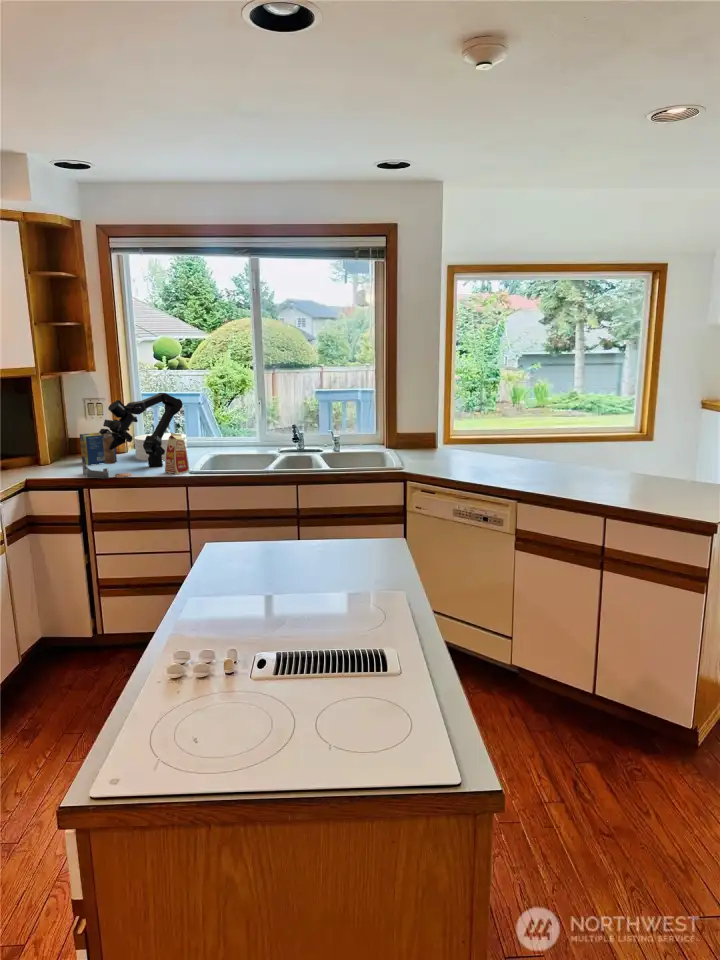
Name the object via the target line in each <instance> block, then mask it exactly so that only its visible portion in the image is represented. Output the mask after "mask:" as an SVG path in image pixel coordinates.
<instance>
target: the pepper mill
mask: <svg viewBox="0 0 720 960" xmlns="http://www.w3.org/2000/svg"><path fill="white" fill-rule="evenodd" d="M112 442H113V437H112V434H111V433H107V434H104V438H103V448H104V459H105V463H104V464H106V465H112V464H116V462H115V451H114V449H112V450H110V449H109V448H110V446H111V444H112Z"/></svg>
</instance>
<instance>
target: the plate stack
mask: <svg viewBox="0 0 720 960" xmlns="http://www.w3.org/2000/svg"><path fill="white" fill-rule="evenodd" d="M171 433H172V432H165V433H164V435H163V437H162V445H161V447H162V448H163V449H164V450H165V453H164V455H162V460H164V461H165V460H166V451H167V445H168V439H169V437H170V436H171ZM174 433H175V434H180V433H177V432H174ZM152 434H153V433H149V434H148V433H147V434H141V435H137V436H134V438H133V440H134V445H135V446H134V449H135V459H136V458H137V459H136V460H139V459H141V460H140V461H145V460H148V457H149V454H146V451H145V450H144V447H143V444H144V441H145V439H146V437H147V436H151V435H152ZM181 434H182V435H181V437H182V438H183V439H184V442H185V446H186V451H187V452H188V444H187V441H188V440H187V434H184V433H181Z"/></svg>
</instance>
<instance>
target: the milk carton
mask: <svg viewBox="0 0 720 960" xmlns="http://www.w3.org/2000/svg"><path fill="white" fill-rule="evenodd" d="M170 433H171V436H170V437H169V439H168V445H167V451H166V460H164V462H165V463H164V464H165V465H164V473H166V472H168V473H167V474H171V473H175V474H174V475H181V474H185V473H188V471H189V472H190V464H189V457H188V455H187V454H188V450H187V451H186V448H187V447H186V446H185V442H184V439H183V438H182V437H181V435H182V434H183V433H179V434H175V433H176V432H170ZM180 473H181V474H180Z"/></svg>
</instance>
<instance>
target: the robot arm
mask: <svg viewBox="0 0 720 960" xmlns="http://www.w3.org/2000/svg"><path fill="white" fill-rule="evenodd" d="M159 403H162V404H163V405H164V412H163V414H162V416H161V418H160V419H159V421H158V423H157V426H156V428H154V431H153V433H151V434H152V435H151V436H147V437H146V439H145V441H144V444H143V447H144V450H145V451H146V454H149V457H148V461H147V462H148V465H147V466H148V467H149V468H159V467H160V468H161V467H163V466H164V463H163V461H162V455H164V453H165V450H164V449H163V448H162V447H161V445H162V437H163V435H164V433H166V431H167V429H168V428H169V425H170V424H171V422H172V420H173V417H174V416H175V415H177V414H178V413H179V412H180V411H181V409H182V408H183V406H184V404H183V401H182V399H180V398H176V397H174V396H172V395H170V394H168V393H166V392H159V393H157V394H154V395H152V396H150V397H147V398H144V399H142V400H137V401H131V402H128V403H127V404H126V405H124V403H122V401H121V400H120V399H116V400H115V401H114V402H112V403H110V404H109V406H108V411H110V413H112V414H113V416H115V418H118V419H119V420H118V419H113V420H110V419H104V422H103V425H102V426H103V427H106V428H101V429H100V430H99V431H98V433H100V434H102V435H103V436H104V434H107V433H111V434H112V437H113V438H114V440H113V442H112V444H111V446H110V448H109V449H110V450H112V449H114V448H116V449H117V447H119V446H121V445H123V444H126V442H127V443H132V441H133V440H134V438H133V435H132V434H130V433H129V431H130V426H131V425H132V424H133V423H138V422H139V421H138V416H139V415H141V414H142V413H145V411H146V410H147V409H148V408H151V407H152V406H153V407H154V406H155V405H158V404H159ZM134 415H138V416H134ZM102 448H103V447H102ZM103 449H104V448H103Z"/></svg>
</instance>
